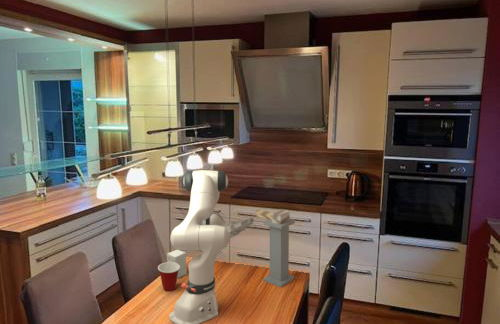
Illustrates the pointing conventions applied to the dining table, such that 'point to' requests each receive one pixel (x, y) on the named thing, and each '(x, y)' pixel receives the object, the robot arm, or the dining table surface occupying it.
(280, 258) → the pedestal shelf
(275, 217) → the mallet
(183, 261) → the supplement box
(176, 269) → the plastic cup
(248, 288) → the dining table surface
